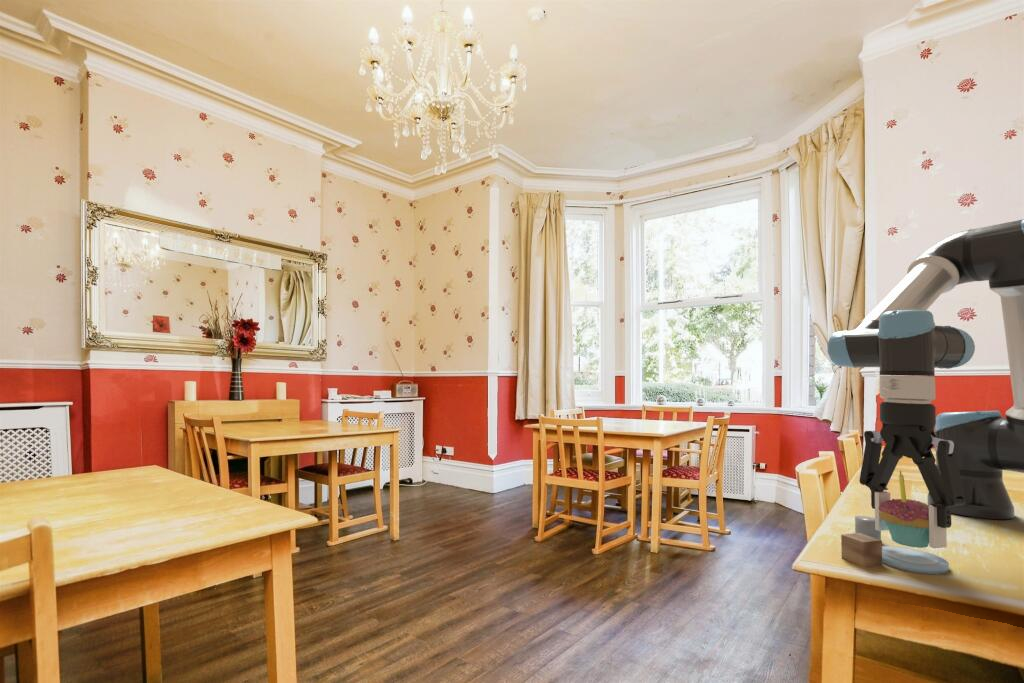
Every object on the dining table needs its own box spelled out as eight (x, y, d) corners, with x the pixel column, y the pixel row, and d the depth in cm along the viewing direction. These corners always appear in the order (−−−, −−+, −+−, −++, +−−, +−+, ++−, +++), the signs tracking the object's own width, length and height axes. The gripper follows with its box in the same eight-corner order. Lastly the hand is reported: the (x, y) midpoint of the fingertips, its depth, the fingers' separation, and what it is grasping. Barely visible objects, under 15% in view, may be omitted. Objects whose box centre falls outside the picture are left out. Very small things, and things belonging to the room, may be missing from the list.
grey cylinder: (866, 536, 100) (865, 515, 100) (886, 543, 96) (885, 521, 96) (850, 537, 99) (849, 516, 99) (870, 544, 95) (869, 522, 95)
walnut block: (859, 556, 89) (859, 532, 89) (882, 565, 85) (881, 540, 85) (841, 558, 88) (841, 534, 88) (863, 567, 84) (863, 542, 84)
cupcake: (922, 554, 81) (921, 476, 81) (866, 537, 88) (865, 467, 89) (954, 548, 84) (952, 473, 85) (897, 532, 92) (896, 464, 92)
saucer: (901, 549, 92) (901, 542, 92) (964, 571, 83) (964, 563, 83) (859, 554, 89) (858, 547, 89) (919, 577, 80) (919, 569, 80)
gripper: (834, 397, 96) (835, 521, 95) (960, 406, 76) (964, 562, 75) (864, 397, 99) (866, 518, 97) (995, 406, 78) (999, 558, 77)
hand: (909, 537), depth 86 cm, fingers closed on cupcake, 8 cm apart
